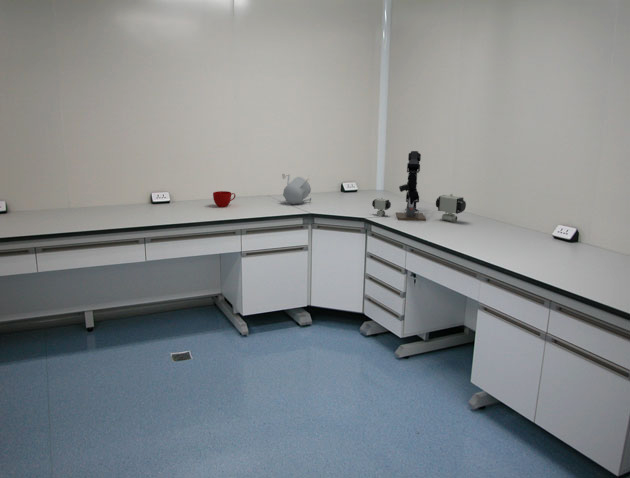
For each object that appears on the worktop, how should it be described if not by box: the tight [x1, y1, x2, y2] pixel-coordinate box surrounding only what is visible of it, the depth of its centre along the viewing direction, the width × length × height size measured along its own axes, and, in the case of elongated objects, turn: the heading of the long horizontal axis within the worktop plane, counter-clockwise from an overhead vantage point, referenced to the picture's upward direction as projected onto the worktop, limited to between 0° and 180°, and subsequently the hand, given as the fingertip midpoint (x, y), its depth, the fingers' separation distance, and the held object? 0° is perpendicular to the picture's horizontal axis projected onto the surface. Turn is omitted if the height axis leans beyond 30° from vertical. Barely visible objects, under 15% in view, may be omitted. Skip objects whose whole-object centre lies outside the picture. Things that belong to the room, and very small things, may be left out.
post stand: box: [395, 206, 427, 222], centre depth 362 cm, size 18×18×7 cm
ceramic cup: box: [212, 190, 236, 208], centre depth 393 cm, size 13×17×10 cm
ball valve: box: [435, 193, 467, 223], centre depth 352 cm, size 18×8×18 cm, turn 49°
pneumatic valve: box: [371, 197, 392, 217], centre depth 367 cm, size 6×12×12 cm, turn 60°
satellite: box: [281, 173, 312, 205], centre depth 404 cm, size 23×20×25 cm
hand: (411, 204), depth 361 cm, fingers closed on steel post, 3 cm apart
